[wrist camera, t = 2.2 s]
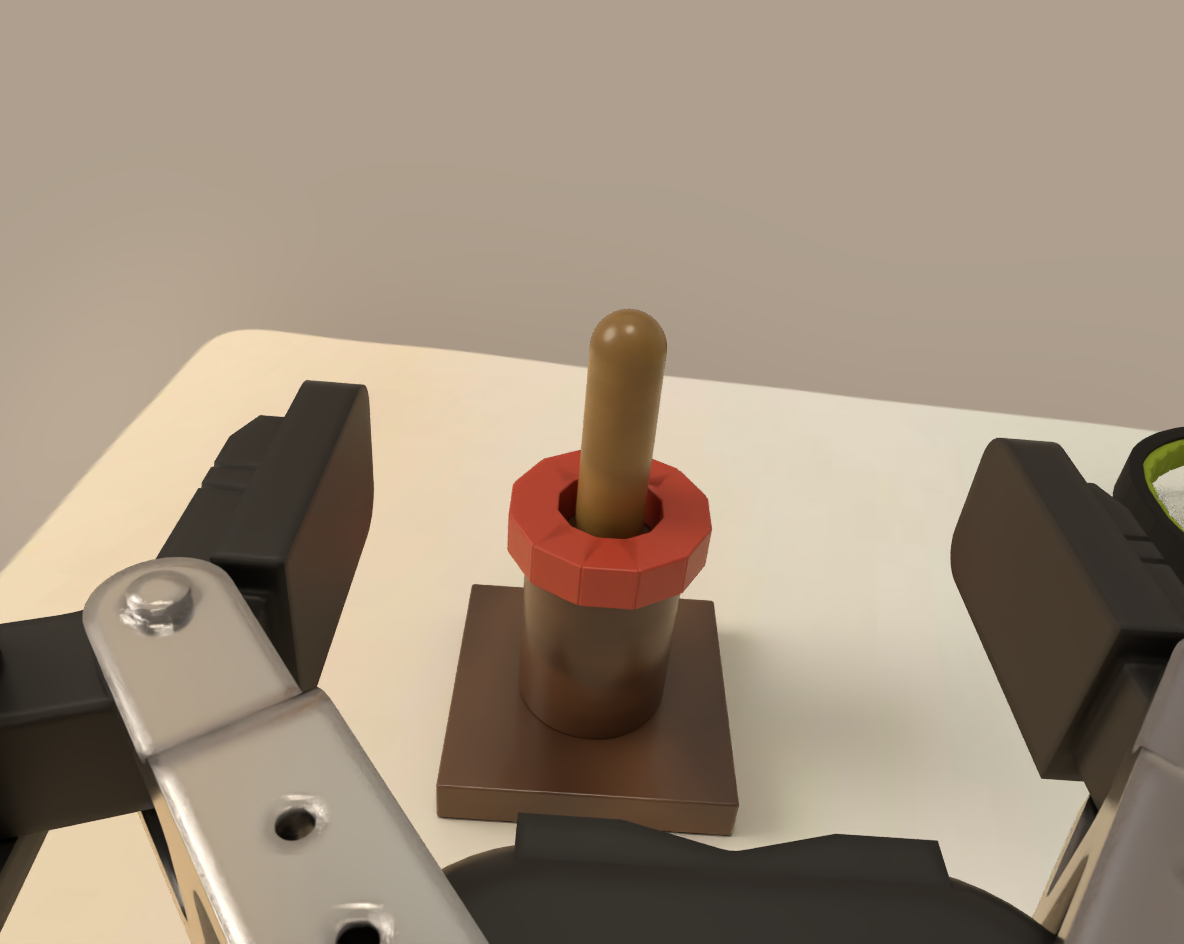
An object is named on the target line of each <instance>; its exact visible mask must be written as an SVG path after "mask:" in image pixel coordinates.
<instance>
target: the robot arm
mask: <svg viewBox="0 0 1184 944" xmlns="http://www.w3.org/2000/svg"><path fill="white" fill-rule="evenodd" d="M373 498H374V481H373V463H372V444H371V425H370V406H369V396H368V391H367V388H366V386H365V385H361V384H348V383H336V382H324V381H311V380H306V381H304V382H303V384H302V385H301V387H300V389H299V391H298V393H297V395H296V396H295V398H294V400H293V402H292V404H291V406H290V408H289V410H288V411H287V413H286V415H285V417H276V416H263V415H260V416H258V417H257V418H255V419H254V420H253V421H251V422H250V423H248V424H247V425H245V426H244V427H242V428H241V429H240V430H238V431H237V432H235V433H234V434H232V435H231V436H230V437H229V438H228V440H227V442H226V443H225V445H224V447H223V448H222V450H221V452H220V453H219V455H218V457H217V458H216V460H215V462H214V467H211V468H210V470H209V471H208V473H207V475H206V476H205V478H204V480H203V481H202V487H201V488H198V490H197V491H196V493H195V495H194V496H193V498H192V500H191V501H190V503H189V505H188V506H187V508H186V510H185V511H184V513H183V515H182V516H181V518H180V519H179V521H178V523H177V524H176V526H175V528H174V529H173V531H172V533H171V534H170V536H169V538H168V539H167V541H166V543H165V544H164V546H163V548H162V549H161V551H160V553H159V554H158V556H157V558H156V559H154V560H150V561H146V562H142V563H139V564H136V565H133V566H131V567H128V568H126V569H124V570H122V571H120V572H118V573H116V574H114V575H113V576H111V577H110V578H108V579H107V580H105V581H104V582H103V583H102V584H101V585H99V586H98V587H97V588H96V589H95V590H94V592H93V593H92V594H91V595H90V597H89V598H88V600H87V602H86V604H85V607H84V610H81V611H77V612H73V613H68V614H63V615H57V616H51V617H44V618H37V619H30V620H24V621H17V622H10V623H3V624H0V932H1V930H2V928H3V926H4V924H5V921H6V919H7V917H8V915H9V913H10V911H11V909H12V907H13V905H14V903H15V900H16V898H17V896H18V894H19V892H20V890H21V888H22V886H23V884H24V882H25V879H26V877H27V875H28V873H29V871H30V869H31V867H32V865H33V863H34V860H35V858H36V856H37V854H38V852H39V850H40V848H41V846H42V844H43V842H44V839H45V837H46V835H47V833H48V831H49V830H53V829H58V828H62V827H67V826H72V825H77V824H81V823H86V822H91V821H96V820H100V819H105V818H110V817H115V816H119V815H124V814H129V813H134V812H138V814H139V817H140V819H141V822H142V824H143V826H144V829H145V831H146V834H147V836H148V839H149V841H150V844H151V846H152V849H153V851H154V854H155V856H156V858H157V861H158V863H159V866H160V868H161V871H162V873H163V876H164V878H165V881H166V883H167V886H168V888H169V890H170V893H171V895H172V898H173V900H174V903H175V905H176V908H177V910H178V913H179V915H180V918H181V920H182V922H183V925H184V927H185V930H186V932H187V935H188V937H189V940H190V942H191V944H1184V585H1183V584H1182V582H1181V581H1180V580H1179V578H1178V577H1177V575H1176V574H1175V573H1174V571H1173V570H1172V569H1171V567H1170V566H1169V565H1164V560H1165V559H1164V558H1163V556H1162V555H1161V554H1160V552H1159V551H1158V549H1157V548H1156V547H1155V545H1154V544H1153V543H1152V542H1148V536H1147V534H1146V533H1145V532H1144V530H1143V529H1142V527H1141V526H1140V525H1139V523H1138V522H1137V521H1136V519H1135V518H1134V517H1133V515H1132V514H1131V512H1130V511H1129V510H1128V509H1127V508H1126V507H1125V506H1123V505H1122V504H1121V503H1120V502H1118V501H1117V500H1116V499H1114V498H1113V497H1112V496H1110V495H1109V494H1108V493H1106V492H1105V491H1104V490H1102V489H1101V488H1100V487H1098V486H1097V485H1096V484H1094V483H1087V482H1086V481H1085V479H1084V478H1083V477H1082V475H1081V474H1080V472H1079V471H1078V469H1077V468H1076V467H1075V465H1074V464H1073V462H1072V461H1071V459H1070V458H1069V456H1068V455H1067V454H1066V452H1065V451H1064V449H1063V448H1062V447H1061V446H1060V445H1059V444H1057V443H1055V442H1045V441H1033V440H1020V439H1008V438H996V439H993V440H992V441H991V442H990V443H989V444H988V446H987V447H986V449H985V451H984V453H983V456H982V458H981V461H980V464H979V466H978V469H977V472H976V474H975V477H974V480H973V482H972V485H971V488H970V490H969V493H968V496H967V498H966V501H965V504H964V507H963V509H962V512H961V515H960V517H959V520H958V523H957V525H956V528H955V531H954V534H953V538H952V544H951V569H952V574H953V578H954V581H955V583H956V585H957V588H958V590H959V592H960V594H961V597H962V599H963V601H964V604H965V606H966V608H967V610H968V613H969V615H970V617H971V620H972V622H973V624H974V626H975V629H976V631H977V633H978V635H979V638H980V640H981V642H982V645H983V647H984V649H985V651H986V654H987V656H988V658H989V661H990V663H991V665H992V667H993V670H994V672H995V674H996V676H997V679H998V681H999V683H1000V686H1001V688H1002V690H1003V692H1004V695H1005V697H1006V699H1007V702H1008V704H1009V706H1010V708H1011V711H1012V713H1013V715H1014V717H1015V720H1016V722H1017V724H1018V727H1019V729H1020V731H1021V733H1022V736H1023V738H1024V740H1025V742H1026V745H1027V747H1028V749H1029V752H1030V754H1031V756H1032V758H1033V761H1034V763H1035V765H1036V768H1037V770H1038V772H1039V774H1040V777H1041V779H1055V780H1069V781H1084V783H1085V785H1086V787H1087V789H1088V791H1089V793H1090V794H1089V795H1088V797H1087V799H1086V800H1085V802H1084V804H1083V805H1082V807H1081V809H1080V811H1079V812H1078V814H1077V817H1076V819H1075V821H1074V823H1073V826H1072V828H1071V830H1070V833H1069V835H1068V837H1067V839H1066V842H1065V844H1064V846H1063V849H1062V851H1061V853H1060V855H1059V858H1058V860H1057V862H1056V865H1055V867H1054V869H1053V871H1052V874H1051V876H1050V878H1049V881H1048V883H1047V885H1046V887H1045V890H1044V892H1043V894H1042V896H1041V899H1040V901H1039V903H1038V906H1037V908H1036V910H1035V912H1034V915H1033V917H1032V918H1031V917H1030V916H1028V915H1027V914H1025V913H1024V912H1022V911H1020V910H1019V909H1017V908H1016V907H1014V906H1013V905H1011V904H1009V903H1008V902H1006V901H1004V900H1002V899H1000V898H998V897H996V896H994V895H992V894H990V893H988V892H986V891H985V890H982V889H980V888H977V887H975V886H973V885H970V884H968V883H965V882H963V881H960V880H958V879H955V878H952V877H949V876H948V873H947V869H946V866H945V863H944V860H943V857H942V853H941V850H940V847H939V844H938V841H934V840H919V839H904V838H890V837H875V836H860V835H845V834H832V835H826V836H821V837H815V838H810V839H804V840H798V841H793V842H787V843H782V844H776V845H770V846H765V847H759V848H754V849H748V850H741V851H728V850H724V849H719V848H716V847H713V846H709V845H706V844H703V843H699V842H696V841H693V840H689V839H686V838H682V837H679V836H676V835H672V834H669V833H666V832H662V831H659V830H656V829H652V828H649V827H646V826H642V825H639V824H635V823H632V822H629V821H625V820H622V819H607V818H592V817H577V816H562V815H547V814H532V813H518V818H517V828H516V839H515V845H514V846H508V847H503V848H497V849H493V850H489V851H486V852H483V853H479V854H476V855H473V856H470V857H467V858H465V859H463V860H461V861H458V862H456V863H454V864H451V865H449V866H447V867H445V868H443V869H440V867H439V865H438V864H437V862H436V861H435V859H434V858H433V856H432V855H431V853H430V852H429V850H428V848H427V847H426V845H425V844H424V842H423V841H422V839H421V838H420V836H419V835H418V833H417V831H416V830H415V828H414V827H413V825H412V824H411V822H410V821H409V819H408V818H407V816H406V814H405V813H404V811H403V810H402V808H401V807H400V805H399V804H398V802H397V801H396V799H395V797H394V796H393V794H392V793H391V791H390V790H389V788H388V787H387V785H386V784H385V782H384V780H383V779H382V777H381V776H380V774H379V773H378V771H377V770H376V768H375V767H374V765H373V764H372V762H371V760H370V759H369V757H368V756H367V754H366V753H365V751H364V750H363V748H362V747H361V745H360V743H359V742H358V740H357V739H356V737H355V736H354V734H353V733H352V731H351V730H350V728H349V726H348V725H347V723H346V722H345V720H344V719H343V717H342V716H341V714H340V713H339V711H338V709H337V708H336V706H335V705H334V703H333V702H332V701H331V699H330V698H329V697H328V695H327V694H326V693H325V692H324V691H323V690H322V689H320V688H318V687H317V685H318V682H319V679H320V676H321V673H322V670H323V667H324V664H325V661H326V658H327V655H328V652H329V649H330V646H331V643H332V640H333V637H334V634H335V631H336V628H337V625H338V622H339V619H340V616H341V613H342V610H343V607H344V604H345V601H346V598H347V595H348V592H349V589H350V586H351V583H352V580H353V577H354V574H355V571H356V568H357V565H358V562H359V559H360V556H361V553H362V550H363V547H364V544H365V541H366V538H367V535H368V532H369V528H370V523H371V517H372V510H373Z"/></svg>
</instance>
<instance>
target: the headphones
mask: <svg viewBox="0 0 1184 944" xmlns="http://www.w3.org/2000/svg"><path fill="white" fill-rule="evenodd" d="M1181 466H1184V427H1179V428H1174V429H1170V430H1166V431H1162V432H1158V433H1155V434H1153V435H1151V436H1149V437H1147V438H1145V439H1143V440H1142V441H1140V442H1139V443H1138V444H1137V445H1136V446H1135V447H1134V448H1133V449H1132V451H1131V453H1130V455H1129V457H1128V459H1127V461H1126V463H1125V465H1124V468H1123V470H1122V472H1121V474H1120V476H1119V478H1118V480H1117V482H1116V484H1115V486H1114V490H1113V498H1114V499H1116V500H1117V501H1118V502H1120V503H1121V504H1122V505H1123V506H1125V507H1126V508H1127V509H1128V510H1129V511H1130V512H1131V514H1132V515H1133V517H1134V518H1135V519H1136V521H1137V522H1138V523H1139V525H1140V526H1141V527H1142V529H1143V530H1144V532H1145V533H1146V534H1147V536H1148V542H1152V543H1153V544H1154V545H1155V547H1156V548H1157V549H1158V551H1159V552H1160V554H1161V555H1162V556H1163V558H1164V559H1165V560H1164V565H1169V566H1170V567H1171V569H1172V570H1173V571H1174V573H1175V574H1176V575H1177V577H1178V578H1179V580H1180V581H1181V582H1182V584H1183V585H1184V530H1183V529H1182V527H1181V526H1180V525H1179V524H1178V523H1177V522H1176V520H1175V519H1174V518H1172V517H1171V516H1170V515H1169V512H1168V510H1167V509H1166V507H1165V506H1164V504H1163V503H1162V501H1161V500H1160V499H1158V495H1157V492H1156V490H1155V488H1154V486H1153V484H1152V483H1153V482H1155V481H1156V480H1157V478H1158V477H1159V476H1161V475H1163V474H1165V473H1166V472H1168V471H1169V470H1173V469H1176V468H1178V467H1181Z"/></svg>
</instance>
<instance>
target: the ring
mask: <svg viewBox="0 0 1184 944" xmlns="http://www.w3.org/2000/svg"><path fill="white" fill-rule="evenodd" d="M580 456H581V450H578V451H574V452H570V453H566V454H561V455H557V456H553V457H549V458H545V459H543V460H541V461H540V462H539V463H537V464H536V465H535V466H534V467H533V468H531V469H530V470H529V471H528V472H526V473H525V474H524V475H523V476H521V477H520V478H519V479H518V480H517V481H515V483H514V484H513V488H512V495H511V502H510V509H509V520H508V548H507V549H508V552H509V553H510V555H511V556H512V558H513V559H514V560H515V562H516V563H517V565H518V566H519V567H520V569H521V570H522V571H523V573H524V574H525V576H526V577H527V578H528V580H529V581H530V582H531V583H532V584H533V585H535V586H537V587H539V588H541V589H543V590H546V591H548V592H550V593H552V594H554V595H556V596H558V597H560V598H562V599H565V600H567V601H569V602H571V603H573V604H575V605H580V606H588V607H603V608H617V609H631V610H632V609H634V608H635V609H638V608H641V607H644V606H647V605H650V604H653V603H656V602H659V601H662V600H665V599H668V598H671V597H674V596H677V595H679V594H680V593H683V592H684V590H685V589H686V588H687V587H688V586H689V584H690V583H691V582H692V581H693V579H694V578H695V577H696V576H697V575H698V573H699V572H700V571H701V570H702V568H703V567H704V566H705V562H706V558H707V553H708V548H709V542H710V537H711V532H712V525H711V518H710V511H709V503H708V498H706V495H705V494H704V493H703V492H702V491H701V490H699V489H698V488H697V487H696V486H695V485H694V484H693V483H692V482H691V481H690V480H689V479H688V478H687V477H686V476H685V475H684V474H683V473H682V472H681V471H679V470H678V469H677V468H674V467H672V466H669V465H667V464H664V463H661V462H659V461H656V460H654V459H652V464H651V471H650V478H649V486H648V493H647V500H646V508H645V515H644V522H645V524H646V525H647V526H648V527H649V528H650V529H651V530H652V531H651V532H649V533H646V534H642V535H639V536H635V537H632V538H629V539H614V538H600V537H595V536H593V535H590V534H588V533H586V532H584V531H581V530H579V529H577V528H574V527H572V526H571V525H570V524H569V523H568V522H567V519H568V518H569V517H570V516H574V515H576V503H577V491H578V480H579V468H580Z"/></svg>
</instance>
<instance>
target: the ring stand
mask: <svg viewBox="0 0 1184 944" xmlns="http://www.w3.org/2000/svg"><path fill="white" fill-rule="evenodd" d="M666 354H667V342H666V338H665V334H664V331H663V330H662V328H661V326H660V325H659V323H658V322H657V321H656V320H655V319H654V318H653V317H651V316H650V315H648V314H647V313H645V312H642V311H639V310H635V309H622V310H618V311H615V312H613V313H611V314H609V315H607V316H606V317H605V318H603V319H602V320H601V321H600V322H599V324H598V325H597V326H596V328H595V330H594V332H593V334H592V337H591V342H590V351H589V363H588V364H589V365H588V375H587V386H586V398H585V410H584V421H583V433H582V445H581V456H580V468H579V480H578V491H577V503H576V515H574V516H570V517H569V518H568V519H567V522H568V523H569V524H570V525H571V526H572V527H574V528H577V529H579V530H581V531H584V532H586V533H588V534H590V535H593V536H595V537H600V538H614V539H629V538H632V537H635V536H639V535H642V534H646V533H649V532H651V531H652V530H651V529H650V528H649V527H648V526H647V525H646V524H645V522H644V515H645V508H646V500H647V493H648V486H649V478H650V471H651V464H652V456H653V449H654V442H655V434H656V427H657V420H658V412H659V405H660V398H661V390H662V383H663V376H664V369H665V361H666ZM679 597H680V594H679V595H677V596H674V597H671V598H668V599H665V600H662V601H659V602H656V603H653V604H650V605H647V606H644V607H641V608H638V609H635V608H634V609H632V610H631V609H617V608H603V607H588V606H580V605H575V604H573V603H571V602H569V601H567V600H565V599H562V598H560V597H558V596H556V595H554V594H552V593H550V592H548V591H546V590H543V589H541V588H539V587H537V586H535V585H533V584H532V583H531V582H530V581H529V580H528V578H527V577H526V576H525V574H524V588H522V587H508V586H493V585H479V584H473V585H472V588H471V594H470V599H469V605H468V610H467V616H466V622H465V627H464V633H463V639H462V644H461V650H460V655H459V661H458V667H457V672H456V678H455V683H454V689H453V695H452V700H451V706H450V711H449V717H448V723H447V728H446V734H445V740H444V745H443V751H442V756H441V762H440V768H439V773H438V779H437V784H436V798H437V815H438V816H439V817H451V818H467V819H483V820H499V821H515V822H517V818H518V813H532V814H547V815H562V816H577V817H592V818H607V819H622V820H625V821H629V822H632V823H635V824H639V825H642V826H646V827H649V828H652V829H656V830H659V831H673V832H689V833H705V834H721V835H731V833H732V830H733V826H734V822H735V818H736V815H737V811H738V807H739V801H738V793H737V785H736V777H735V769H734V761H733V753H732V745H731V737H730V729H729V721H728V713H727V705H726V697H725V689H724V681H723V673H722V665H721V657H720V649H719V641H718V633H717V625H716V617H715V609H714V602H713V601H707V600H692V599H679Z"/></svg>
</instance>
